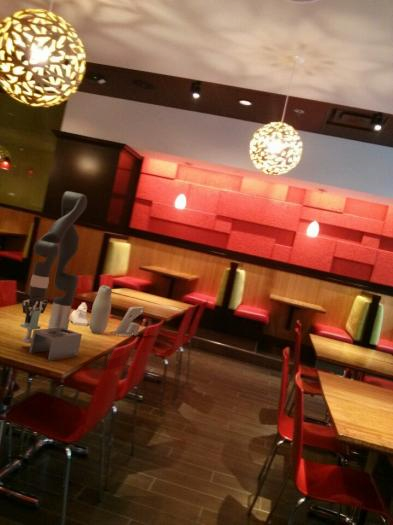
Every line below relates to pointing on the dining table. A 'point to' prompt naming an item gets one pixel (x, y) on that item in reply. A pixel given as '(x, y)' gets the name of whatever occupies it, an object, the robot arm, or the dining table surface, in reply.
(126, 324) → the phone holder
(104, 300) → the grey vase
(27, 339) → the boxy toy figurine
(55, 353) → the grey open box
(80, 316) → the soft serve ice cream
